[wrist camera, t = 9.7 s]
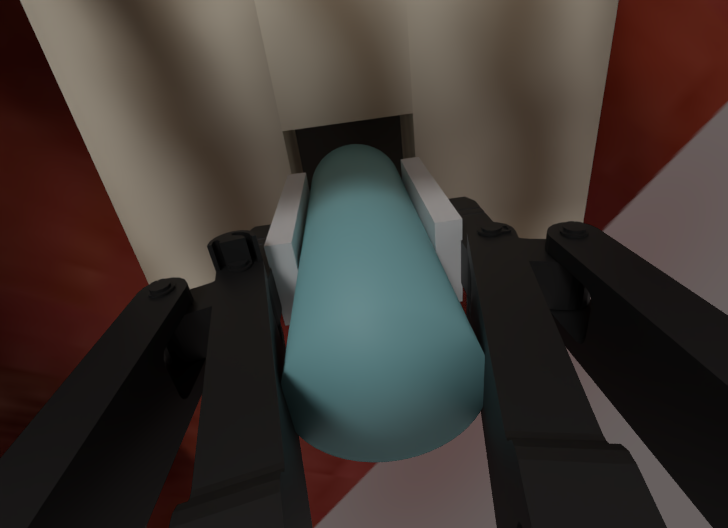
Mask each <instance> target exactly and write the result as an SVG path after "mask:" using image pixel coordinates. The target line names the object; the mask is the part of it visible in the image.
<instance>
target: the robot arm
mask: <svg viewBox="0 0 728 528" xmlns="http://www.w3.org/2000/svg"><path fill="white" fill-rule="evenodd" d="M400 160H401V173H402V181H403V183H404V186H405V188H406V190H407V192H408V194H409V196H410V198H411V200H412V203H413V205H414V207H415V209H416V211H417V213H418V215H419V217H420V219H421V222H422V224H423V226H424V228H425V230H426V232H427V234H428V236H429V238H430V241H431V243H432V245H433V247H434V249H435V251H436V253H437V255H438V257H439V260H440V262H441V264H442V266H443V268H444V270H445V272H446V274H447V276H448V279H449V281H450V283H451V285H452V287H453V289H454V291H455V293H456V295H457V298H458V300H459V302H460V301H463V299H462V286H463V288H464V289H465V291H466V293H467V319H468V321H469V323H470V325H471V327H472V329H473V331H474V334H475V336H476V338H477V340H478V342H479V344H480V346H481V348H482V350H483V353H484V355H485V365H484V393H483V408H482V410H481V416H482V423H483V430H484V437H485V445H486V452H487V459H488V467H489V474H490V481H491V489H492V496H493V503H494V510H495V518H496V525H497V528H667V527H666V525H665V523H664V521H663V519H662V516H661V514H660V512H659V510H658V508H657V506H656V504H655V502H654V500H653V497H652V496H651V493H650V491H649V489H648V487H647V485H646V483H645V481H644V478H643V476H642V474H641V472H640V470H639V468H638V466H637V464H636V462H635V461H634V459H633V457H632V456H631V454H630V452H629V451H628V450H627V449H626V448H625V447H624V446H622V445H621V444H609V443H608V442H607V441H606V439H605V437H604V436H603V434H602V431H601V429H600V427H599V424H598V422H597V420H596V417H595V415H594V413H593V411H592V408H591V406H590V403H589V401H588V399H587V396H586V394H585V392H584V389H583V387H582V385H581V382H580V380H579V378H578V375H577V373H576V371H575V368H574V366H573V363H572V361H571V359H570V357H569V354H568V352H567V350H566V348H567V349H568V350H569V351H570V353H571V354H572V355H573V356H574V357H575V359H576V360H577V361H578V362H579V364H580V365H581V366H582V367H583V369H584V370H585V371H586V372H587V373H588V375H589V376H590V377H591V378H592V380H593V381H594V382H595V383H596V384H597V386H598V387H599V388H600V390H601V391H602V392H603V393H604V394H605V396H606V397H607V398H608V399H609V401H610V402H611V403H612V404H613V405H614V407H615V408H616V409H617V410H618V412H619V413H620V414H621V415H622V416H623V418H624V419H625V420H626V422H627V423H628V424H629V425H630V426H631V428H632V429H633V430H634V431H635V433H636V434H637V435H638V436H639V437H640V439H641V440H642V441H643V442H644V444H645V445H646V446H647V447H648V449H649V450H650V451H651V452H652V453H653V455H654V456H655V457H656V458H657V459H658V461H659V462H660V463H661V464H662V466H663V467H664V468H665V469H666V470H667V472H668V473H669V474H670V476H671V477H672V478H673V479H674V481H675V482H676V483H677V484H678V485H679V487H680V488H681V489H682V490H683V491H684V493H685V494H686V495H687V496H688V498H689V499H690V500H691V501H692V503H693V504H694V505H695V506H696V507H697V509H698V510H699V511H700V512H701V514H702V515H703V516H704V517H705V518H706V520H707V521H708V522H709V524H710V525H711V526H712V527H713V528H728V315H726V314H725V313H723V312H722V311H720V310H719V309H717V308H716V307H714V306H713V305H711V304H710V303H708V302H707V301H706V300H704V299H702V298H701V297H700V296H698V295H697V294H695V293H694V292H692V291H691V290H689V289H688V288H686V287H685V286H683V285H681V284H680V283H679V282H677V281H675V280H674V279H673V278H671V277H670V276H668V275H667V274H665V273H664V272H662V271H661V270H659V269H658V268H656V267H655V266H653V265H652V264H650V263H649V262H647V261H646V260H644V259H643V258H641V257H640V256H638V255H637V254H635V253H634V252H632V251H631V250H629V249H628V248H626V247H625V246H623V245H622V244H620V243H619V242H617V241H616V240H614V239H613V238H611V237H610V236H608V235H607V234H605V233H604V232H603V231H601V230H600V229H598V228H596V227H594V226H592V225H589V224H584V223H582V222H578V221H576V222H574V221H568V222H561V223H557V224H553V225H552V226H550V227H549V228H548V230H547V235H546V239H527V238H519V237H518V235H517V232H516V230H515V229H514V228H513V227H512V226H510V225H507V224H504V223H499V222H493V221H492V220H491V219H490V217H489V216H488V215H487V214H486V213H484V210H483V209H482V208H480V206H479V205H478V203H477V202H476V201H475V200H472V199H470V198H468V197H457V198H450V199H448V198H447V196H446V195H445V194H444V192H443V191H442V189H441V188H440V186H439V185H438V184H437V182H436V181H435V179H434V178H433V176H432V175H431V174H430V172H429V171H428V169H427V168H426V167H425V165H424V164H423V162H422V161H421V159H420V158H419V157H413V158H406V159H400ZM309 197H310V191H309V185H308V180H307V175H306V172H305V173H297V174H290V175H288V176H287V179H286V182H285V185H284V188H283V191H282V194H281V196H280V199H279V202H278V205H277V208H276V211H275V214H274V217H273V220H272V223H271V224H270V225H262V226H255V227H254V228H252V229H251V230H250V231H249V230H238V231H231V232H228V233H224V234H222V235H219V236H217V237H215V238H214V239H212V240H211V241H210V242H209V243H208V245H207V248H208V251H209V254H210V257H211V259H212V262H213V265H214V268H215V271H216V276H215V281H213V282H211V283H208V284H205V285H202V286H199V287H196V288H192V289H190V288H189V286H188V283H187V282H186V280H185V279H183V278H180V277H172V278H166V279H165V278H163V279H159V280H158V281H157V280H156V281H154V282H152V283H151V284H150V285H148V286H146V287H144V288H143V289H142V290H141V291H140V292H138V293H137V295H136V296H135V297H134V298H133V299H132V301H131V302H130V303H129V304H128V305H127V307H126V308H125V309H124V310H123V311H122V313H121V314H120V315H119V316H118V317H117V319H116V320H115V321H114V322H113V323H112V325H111V326H110V327H109V328H108V329H107V331H106V332H105V333H104V334H103V335H102V337H101V338H100V339H99V340H98V341H97V343H96V344H95V345H94V346H93V348H92V349H91V350H90V351H89V352H88V354H87V355H86V356H85V357H84V358H83V360H82V361H81V362H80V363H79V364H78V366H77V367H76V368H75V369H74V370H73V372H72V373H71V374H70V375H69V376H68V378H67V379H66V380H65V381H64V382H63V384H62V385H61V386H60V387H59V388H58V390H57V391H56V392H55V393H54V394H53V396H52V397H51V398H50V399H49V400H48V402H47V403H46V404H45V405H44V407H43V408H42V409H41V410H40V411H39V413H38V414H37V415H36V416H35V417H34V419H33V420H32V421H31V422H30V423H29V425H28V426H27V427H26V428H25V429H24V431H23V432H22V433H21V434H20V435H19V437H18V438H17V439H16V440H15V441H14V443H13V444H12V445H11V446H10V447H9V449H8V450H7V451H6V452H5V453H4V455H3V456H2V457H1V458H0V528H146V525H147V523H148V521H149V518H150V516H151V514H152V511H153V509H154V506H155V504H156V502H157V499H158V497H159V495H160V492H161V490H162V487H163V485H164V483H165V480H166V478H167V475H168V473H169V471H170V468H171V466H172V464H173V461H174V459H175V456H176V454H177V452H178V449H179V447H180V445H181V442H182V440H183V437H184V435H185V433H186V430H187V428H188V425H189V423H190V421H191V418H192V416H193V414H194V411H195V409H196V406H197V404H198V402H199V399H200V397H201V395H202V401H201V409H200V418H199V427H198V436H197V445H196V454H195V463H194V472H193V481H192V490H191V495H190V499H189V501H188V502H185V503H182V504H179V505H177V507H176V508H175V510H174V511H173V513H172V517H171V521H170V525H169V528H312V521H311V514H310V508H309V501H308V494H307V488H306V481H305V474H304V468H303V461H302V454H301V448H300V441H299V435H298V434H297V433H296V432H295V428H294V425H293V422H292V419H291V416H290V412H289V409H288V406H287V403H286V399H285V396H284V393H283V390H282V386H281V379H282V372H283V366H284V359H285V353H286V347H285V341H284V334H283V330H282V327H281V323H280V318H281V312H282V315H283V319H284V322H285V325H290V320H291V314H292V307H293V301H294V294H295V288H296V281H297V275H298V268H299V262H300V255H301V249H302V242H303V236H304V229H305V223H306V216H307V210H308V203H309ZM590 297H591V299H590Z"/></svg>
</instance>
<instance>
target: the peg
mask: <svg viewBox="0 0 728 528" xmlns="http://www.w3.org/2000/svg"><path fill="white" fill-rule="evenodd" d="M484 365H485V355H484V353H483V350H482V348H481V346H480V344H479V342H478V340H477V338H476V336H475V334H474V331H473V329H472V327H471V325H470V323H469V321H468V319H467V317H466V315H465V312H464V310H463V308H462V306H461V304H460V302H459V300H458V298H457V295H456V293H455V291H454V289H453V287H452V285H451V283H450V281H449V279H448V276H447V274H446V272H445V270H444V268H443V266H442V264H441V262H440V260H439V257H438V255H437V253H436V251H435V249H434V247H433V245H432V243H431V241H430V238H429V236H428V234H427V232H426V230H425V228H424V226H423V224H422V222H421V219H420V217H419V215H418V213H417V211H416V209H415V207H414V205H413V203H412V200H411V198H410V196H409V194H408V192H407V190H406V188H405V186H404V183H403V181H402V179H401V177H400V175H399V173H398V171H397V169H396V167H395V165H394V163H393V162H392V161H391V160H390V158H389V157H388V156H387V155H385V154H384V153H383V152H381V151H380V150H378V149H376V148H374V147H371V146H368V145H363V144H350V145H345V146H342V147H339V148H337V149H335V150H333V151H331V152H330V153H328V154H327V155H326V156H325V157H324V158H323V159H322V160H321V161H320V163H319V164H318V166H317V167H316V169H315V172H314V174H313V178H312V183H311V190H310V197H309V203H308V210H307V216H306V223H305V229H304V236H303V242H302V249H301V255H300V262H299V268H298V275H297V281H296V288H295V294H294V301H293V307H292V314H291V320H290V327H289V333H288V340H287V346H286V353H285V359H284V366H283V372H282V379H281V386H282V390H283V393H284V396H285V399H286V403H287V406H288V409H289V412H290V416H291V419H292V422H293V425H294V428H295V432H296V433H297V434H298V435H299V436H300V437H301V438H302V439H304V440H305V441H306V442H307V443H309V444H311V445H312V446H314V447H315V448H317V449H319V450H321V451H323V452H325V453H328V454H331V455H333V456H336V457H340V458H344V459H348V460H354V461H361V462H389V461H397V460H403V459H408V458H412V457H415V456H419V455H422V454H424V453H427V452H430V451H432V450H434V449H437V448H439V447H441V446H443V445H444V444H446V443H448V442H449V441H451V440H452V439H454V438H455V437H457V436H458V435H460V434H461V433H462V432H463V431H464V430H465V429H466V428H467V427H468V426H469V425H470V424H471V423H472V422H473V421H474V420H475V418H476V417H477V415H478V414H479V413H480V411H481V410H482V408H483V393H484Z"/></svg>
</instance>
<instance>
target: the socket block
mask: <svg viewBox="0 0 728 528" xmlns="http://www.w3.org/2000/svg"><path fill="white" fill-rule="evenodd" d="M20 1H21V4H22V6H23V8H24V10H25V12H26V15H27V17H28V19H29V21H30V23H31V26H32V28H33V30H34V32H35V34H36V37H37V39H38V41H39V43H40V45H41V48H42V50H43V52H44V54H45V56H46V59H47V61H48V63H49V65H50V67H51V70H52V72H53V74H54V76H55V78H56V81H57V83H58V85H59V87H60V89H61V92H62V94H63V96H64V98H65V100H66V103H67V105H68V107H69V109H70V111H71V114H72V116H73V118H74V120H75V122H76V125H77V127H78V129H79V131H80V133H81V136H82V138H83V140H84V142H85V144H86V147H87V149H88V151H89V153H90V155H91V158H92V160H93V162H94V164H95V166H96V169H97V171H98V173H99V175H100V177H101V180H102V182H103V184H104V186H105V188H106V191H107V193H108V195H109V197H110V199H111V202H112V204H113V206H114V208H115V210H116V213H117V215H118V217H119V219H120V221H121V224H122V226H123V228H124V230H125V232H126V235H127V237H128V239H129V241H130V243H131V246H132V248H133V250H134V252H135V254H136V257H137V259H138V261H139V263H140V265H141V268H142V270H143V272H144V274H145V276H146V279H147V281H148V283H149V285H150V284H151V283H152V282H154V281H156V280H157V281H158V280H159V279H163V278H165V279H166V278H172V277H180V278H183V279H185V280H186V282H187V283H188V286H189V288H190V289H192V288H196V287H199V286H202V285H205V284H208V283H211V282H213V281H215V276H216V271H215V268H214V265H213V262H212V259H211V257H210V254H209V251H208V248H207V245H208V243H209V242H210V241H211V240H212V239H214V238H215V237H217V236H219V235H222V234H224V233H228V232H231V231H238V230H249V231H250V230H251V229H252V228H254V227H255V226H262V225H270V224H271V223H272V220H273V217H274V214H275V211H276V208H277V205H278V202H279V199H280V196H281V194H282V191H283V188H284V185H285V182H286V179H287V176H288V175H290V174H297V173H305V172H306V175H307V180H308V185H309V191H310V190H311V183H312V178H313V174H314V172H315V169H316V167H317V166H318V164H319V163H320V161H321V160H322V159H323V158H324V157H325V156H326V155H327V154H328V153H330V152H331V151H333V150H335V149H337V148H339V147H342V146H345V145H350V144H363V145H368V146H371V147H374V148H376V149H378V150H380V151H381V152H383V153H384V154H385V155H387V156H388V157H389V158H390V160H391V161H392V162H393V163H394V165H395V167H396V169H397V171H398V173H399V175H400V177H401V179H402V173H401V160H400V159H406V158H413V157H419V158H420V159H421V161H422V162H423V164H424V165H425V167H426V168H427V169H428V171H429V172H430V174H431V175H432V176H433V178H434V179H435V181H436V182H437V184H438V185H439V186H440V188H441V189H442V191H443V192H444V194H445V195H446V196H447V198H448V199H450V198H457V197H468V198H470V199H472V200H475V201H476V202H477V203H478V205H479V206H480V208H482V209H483V210H484V213H486V214H487V215H488V216H489V217H490V219H491V220H492V221H493V222H499V223H504V224H507V225H510V226H512V227H513V228H514V229H515V230H516V232H517V235H518V237H519V238H527V239H546V235H547V230H548V228H549V227H550V226H552V225H553V224H557V223H561V222H568V221H574V222H576V221H578V222H582V223H583V220H584V214H585V208H586V202H587V195H588V189H589V183H590V176H591V170H592V164H593V158H594V151H595V145H596V139H597V132H598V126H599V120H600V114H601V107H602V101H603V95H604V89H605V82H606V76H607V70H608V63H609V57H610V51H611V45H612V38H613V32H614V26H615V19H616V13H617V7H618V1H619V0H20Z"/></svg>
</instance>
